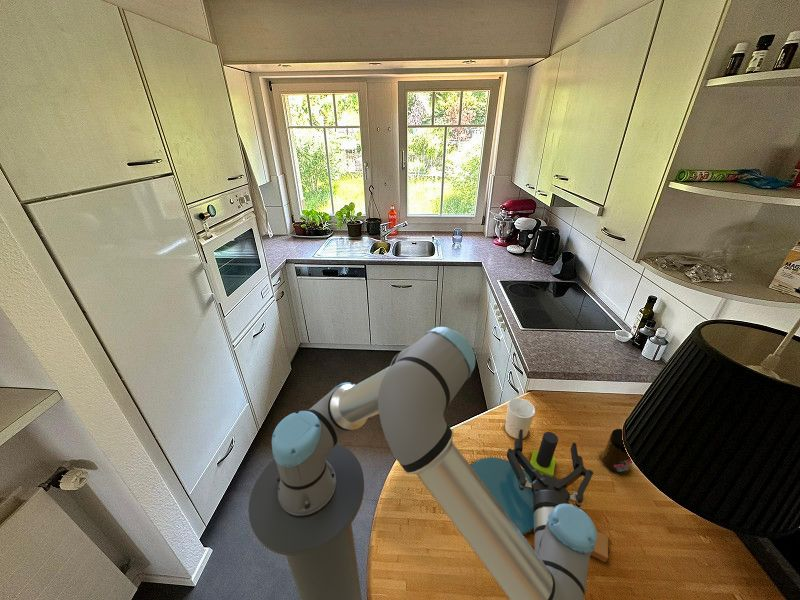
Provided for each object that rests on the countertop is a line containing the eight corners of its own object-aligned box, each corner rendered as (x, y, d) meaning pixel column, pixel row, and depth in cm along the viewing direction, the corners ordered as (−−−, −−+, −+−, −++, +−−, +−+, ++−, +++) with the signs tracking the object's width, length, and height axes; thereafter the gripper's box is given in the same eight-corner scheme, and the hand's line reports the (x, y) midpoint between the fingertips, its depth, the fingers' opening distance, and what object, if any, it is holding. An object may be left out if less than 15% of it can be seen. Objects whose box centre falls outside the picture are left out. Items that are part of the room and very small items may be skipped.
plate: (450, 509, 81) (450, 507, 81) (475, 449, 96) (475, 446, 96) (533, 555, 72) (534, 553, 72) (546, 481, 88) (547, 478, 87)
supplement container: (605, 472, 90) (617, 447, 85) (597, 451, 95) (608, 427, 91) (632, 476, 88) (646, 451, 84) (622, 455, 94) (634, 430, 89)
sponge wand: (527, 472, 90) (536, 441, 84) (531, 455, 94) (540, 424, 88) (551, 482, 87) (562, 451, 81) (553, 465, 92) (564, 433, 86)
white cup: (499, 432, 102) (503, 409, 97) (508, 416, 107) (513, 394, 103) (524, 445, 98) (530, 422, 93) (532, 428, 103) (538, 405, 98)
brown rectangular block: (585, 552, 73) (587, 547, 72) (586, 531, 77) (588, 526, 76) (605, 562, 71) (608, 558, 70) (605, 540, 75) (608, 535, 74)
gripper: (492, 507, 77) (498, 436, 95) (610, 545, 70) (592, 461, 88) (496, 488, 74) (501, 418, 91) (620, 526, 67) (600, 442, 84)
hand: (546, 439), depth 90 cm, fingers open, 13 cm apart
